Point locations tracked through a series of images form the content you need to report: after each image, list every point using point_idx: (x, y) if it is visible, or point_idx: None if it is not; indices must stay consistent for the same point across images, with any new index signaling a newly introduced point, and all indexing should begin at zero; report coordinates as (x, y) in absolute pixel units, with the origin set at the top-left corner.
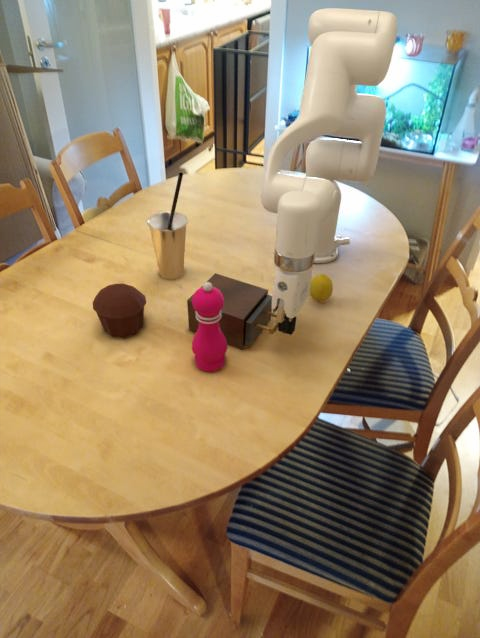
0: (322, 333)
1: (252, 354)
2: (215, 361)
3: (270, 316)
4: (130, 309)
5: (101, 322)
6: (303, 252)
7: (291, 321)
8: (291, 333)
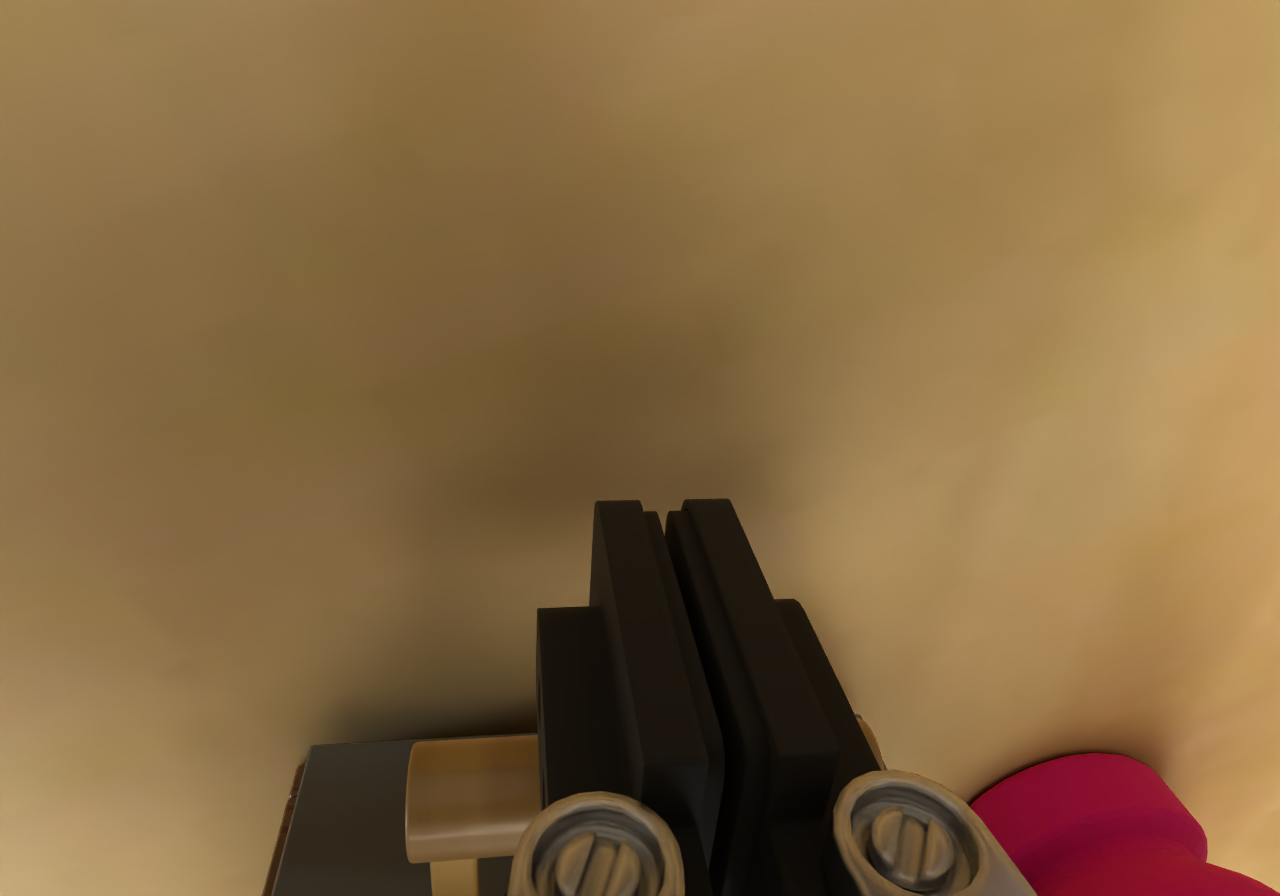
0: (13, 18)
1: (881, 644)
2: (1186, 851)
3: (328, 809)
4: None
5: None
6: None
7: (908, 781)
8: (735, 519)
